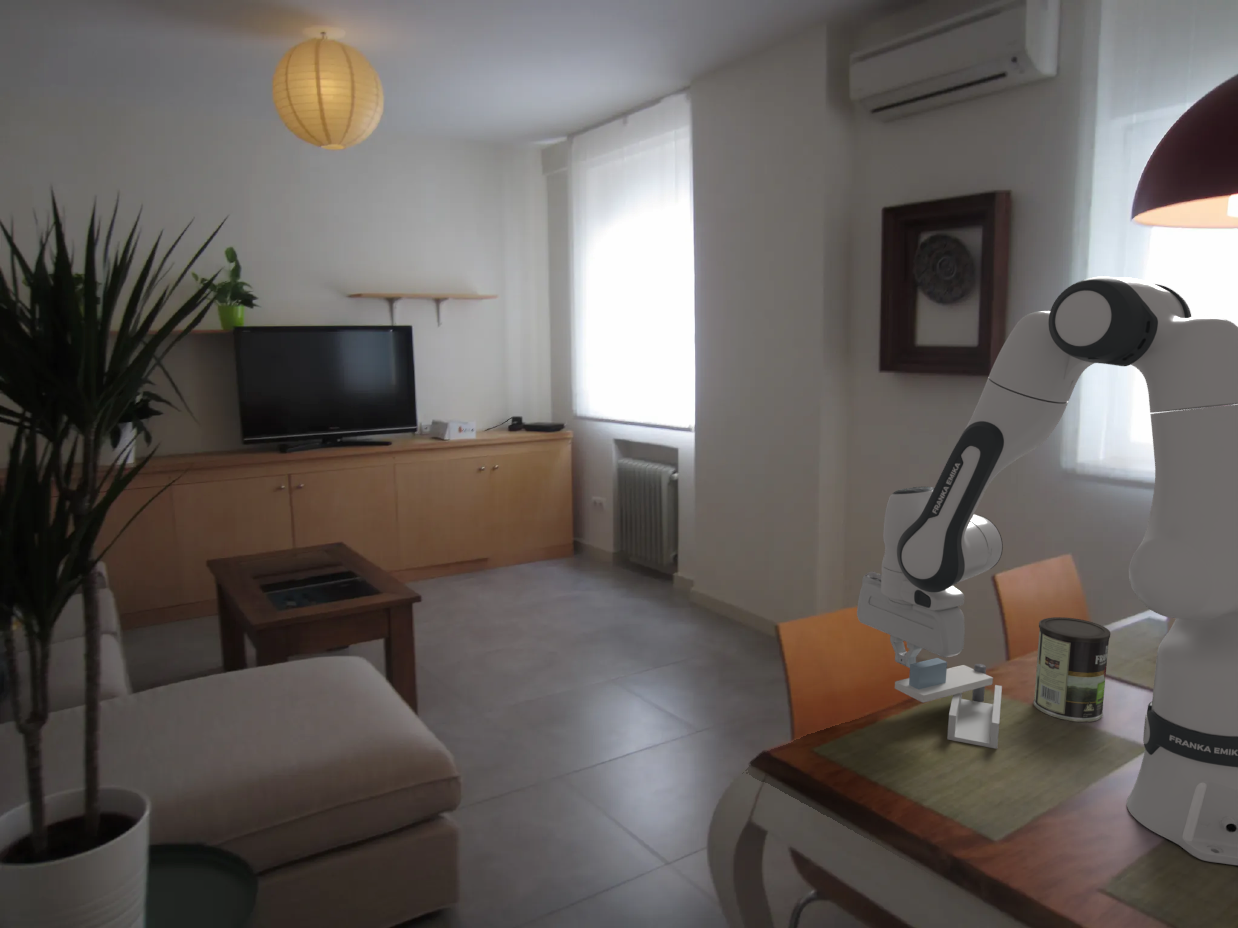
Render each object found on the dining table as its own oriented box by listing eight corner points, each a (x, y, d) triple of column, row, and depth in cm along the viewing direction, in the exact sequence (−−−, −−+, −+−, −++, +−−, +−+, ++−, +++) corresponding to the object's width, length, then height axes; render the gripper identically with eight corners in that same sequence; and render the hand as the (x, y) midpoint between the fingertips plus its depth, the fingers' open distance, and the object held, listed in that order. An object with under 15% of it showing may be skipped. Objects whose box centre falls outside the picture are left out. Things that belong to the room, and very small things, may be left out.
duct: (1000, 708, 141) (1001, 685, 140) (997, 748, 127) (999, 723, 127) (954, 700, 144) (956, 678, 143) (947, 739, 130) (948, 714, 130)
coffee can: (1107, 705, 142) (1114, 624, 140) (1097, 728, 134) (1105, 642, 131) (1039, 690, 148) (1046, 612, 146) (1026, 711, 140) (1032, 629, 138)
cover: (996, 705, 141) (1000, 655, 140) (921, 726, 134) (924, 674, 132) (967, 691, 146) (970, 643, 145) (893, 711, 139) (896, 660, 138)
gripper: (850, 570, 147) (847, 647, 149) (944, 603, 129) (939, 690, 131) (877, 566, 150) (874, 641, 152) (973, 597, 132) (968, 682, 134)
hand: (905, 664), depth 141 cm, fingers closed
